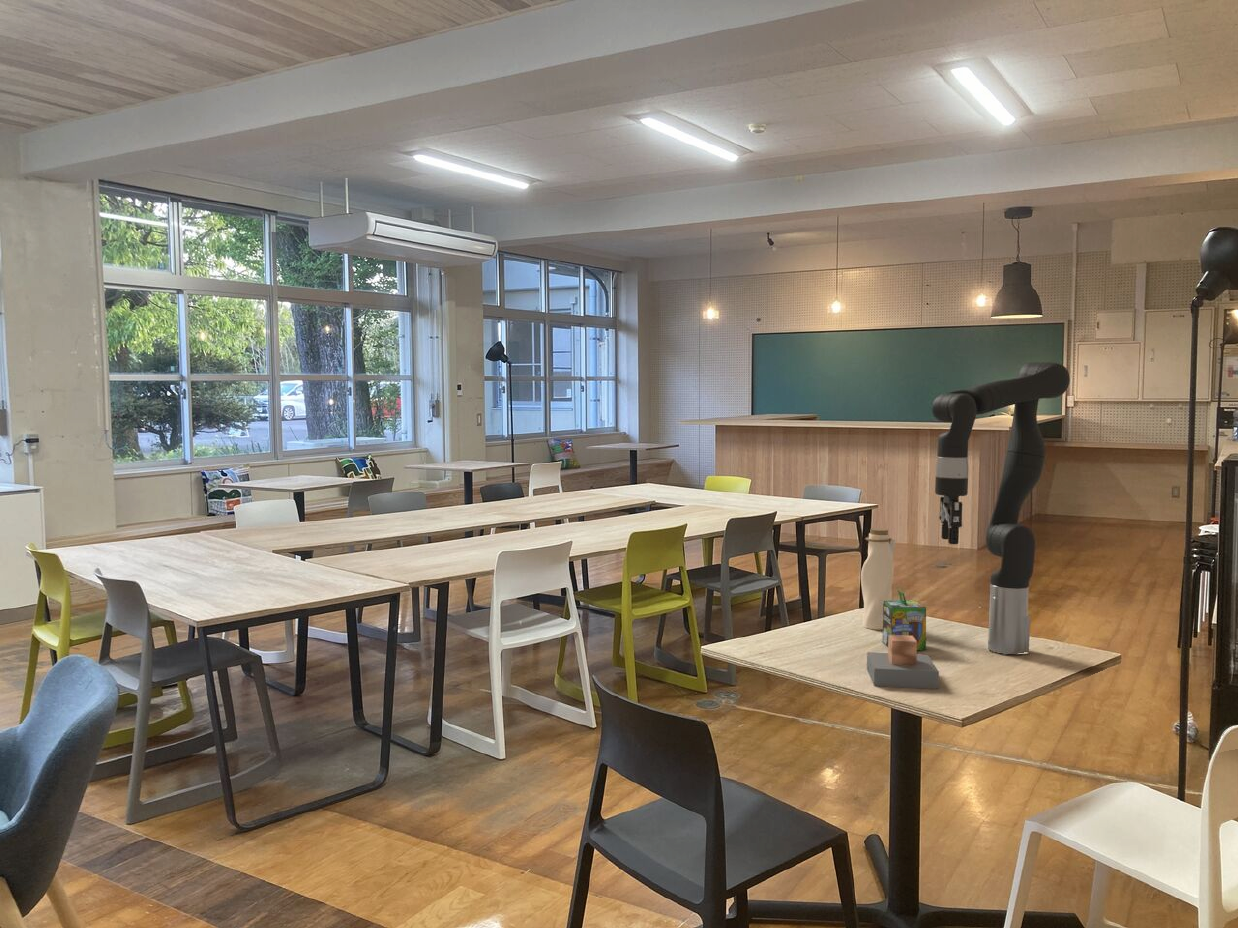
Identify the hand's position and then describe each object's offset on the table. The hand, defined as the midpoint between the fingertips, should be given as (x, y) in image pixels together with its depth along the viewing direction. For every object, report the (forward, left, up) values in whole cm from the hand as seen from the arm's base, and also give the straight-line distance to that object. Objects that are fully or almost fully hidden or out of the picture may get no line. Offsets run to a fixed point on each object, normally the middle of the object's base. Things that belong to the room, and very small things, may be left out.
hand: (949, 541), depth 232 cm
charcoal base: (+13, +16, -30) cm, 36 cm away
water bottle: (+12, -36, -30) cm, 49 cm away
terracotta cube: (+13, +16, -26) cm, 33 cm away
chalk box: (+8, -14, -30) cm, 34 cm away
